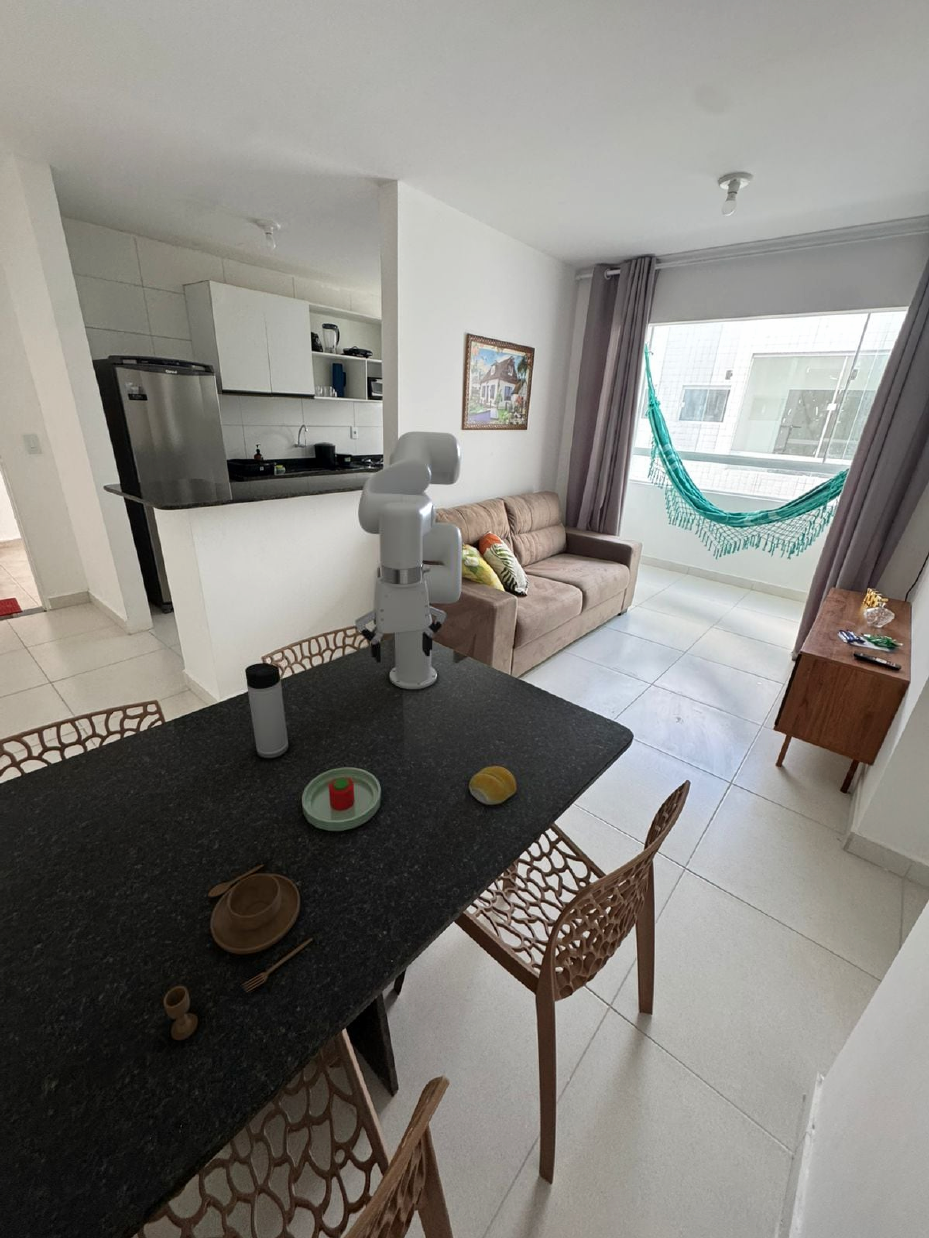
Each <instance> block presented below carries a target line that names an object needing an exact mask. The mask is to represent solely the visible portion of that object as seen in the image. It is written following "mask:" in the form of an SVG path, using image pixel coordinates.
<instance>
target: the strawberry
mask: <svg viewBox="0 0 929 1238" xmlns="http://www.w3.org/2000/svg"><path fill="white" fill-rule="evenodd" d="M329 797H330V806H331V807H332V808H333V809H334V810H337V811H343V810H347V809H349V808H350V807H352V805H353V804H354V801H355V800H354V783H353V781H352V780H351V779H350V778H348V777H338V778H336V779H334V780H332V781H331V782H330V784H329Z"/></svg>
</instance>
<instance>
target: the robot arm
mask: <svg viewBox="0 0 929 1238" xmlns="http://www.w3.org/2000/svg"><path fill="white" fill-rule="evenodd" d="M461 460H462V452H461V446H460V443H459V440H458V439H457V437H456V436H455V435H453V434H451V433H449V432H436V431H408V432H405V433H403V434H402V435H400V436H399V438H397V440H396V443H395V446H394V450H393V451H392V452H391V453H390V456H389V462H388V466H385V467H384V468H382V469H380V470H378V471H377V472H375V473H373V474H372V475H370V476H369V477H368V478H367V479H366V481H365V483H364V485H363V487H362V491H361V494H360V499H359V503H358V509H357V510H358V511H357V518H358V522H359V526H360V527H361V529H362V530H363V531H364V532H366V533H368V534H371V535H379V563H380V564H379V566H380V567H379V569H380V576H379V577H377V578H375V579H376V580H375V584H374V588H373V589H374V591H373V601H372V603H373V604H372V610H371V611H369V612H367V613H365V614H363V615H362V616H360V617H359V618H356V619H355V620H354V624H355V626H356V628H357V629H358V632H360V634H361V635H362V637H364V638H365V639H366V640H367V641H369V642H370V655H371V657H372V658H374V659H375V661H376V663H377V664H379V663H381V662H382V654H381V653H382V652H381V650H382V649H381V643H380V640H381V639H382V638H383V636H385V635H393V634H394V659H395V660H394V661H395V662H394V664H395V665H394V667H393V668H392V669H391V670H390V672H389V680H390V682H391V683H392V684H393V685H395V686H396V687H398V688H402V689H404V690H405V689H406V690H421V689H425V688H428V687H429V686H431V685H433V684H434V683H435V682H436V681H437V677H438V673H437V671H436V669H435V668H434V667H433V666H432V651H433V639H434V637H435V636H436V634H437V632H438V631H439V630H441V628H442V626H443V623H444V622H445V620H446V618H447V614H446V612H445V611H444V610H441V609H439V608H437V607H435V606H432V605H430V604H442V605H443V604H444V605H445V604H446V605H447V604H456V603H457V602H458V601H459V599H460V597H461V593H462V580H463V577H462V575H463V574H462V573H463V571H462V570H463V537H462V532H461V530H460V528H459V527H458V526H457V525H456V524H453V523H449V522H436V519H437V509H436V506H435V504H434V502H433V501H432V500H431V498H430V496H429V495H428V494H427V492H425V491H426V490H427V489H428V488H429V486H430V485H443V486H444V485H445V486H451V485H454V484H455V483H457V481H458V480H459V478H460V474H461ZM423 561H425V562H427V561H430V562H440V563H442V564H428V563H427V564H426V563H423ZM443 564H444V565H443ZM432 616H434V617H435V620H434V621H433V618H432ZM372 621H373V625H374V627H373V628H372V629H371V630H370V629H368V628H367V627H366V625H368V624H369V623H370V622H372Z"/></svg>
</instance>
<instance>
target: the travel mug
mask: <svg viewBox="0 0 929 1238" xmlns="http://www.w3.org/2000/svg"><path fill="white" fill-rule="evenodd" d="M244 673H245V680H246V687H247V694H248V695H247V696H248V700H249V701H248V702H249V707H250V715H251V722H252V727H253V734H254V740H255V746H256V747H255V748H256V753H257V754H258V756H260V757H262V758H265V759H272V758H277V757H280V756H282V755H283V754H285V753H286V752H287V750H288V749H289V738H288V731H287V723H286V722H287V721H286V714H285V713H286V712H285V705H284V698H283V697H284V696H283V688H282V681H281V675H280V674H281V673H280V667H279V666H278V665H275V664H270V663H268V662H258V663H254V664H250V665H248V666H247V667H246V668H245V670H244Z"/></svg>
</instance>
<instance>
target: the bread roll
mask: <svg viewBox="0 0 929 1238" xmlns="http://www.w3.org/2000/svg"><path fill="white" fill-rule="evenodd" d="M468 789H469V792H470V794H471V796H472V797H474V798H475V799H476V800H477V801H479V802H480V803H482V804H484V805H489V806H491V805H499V804H502V803H503V802H506V800H507V799H508V798H510V797H512V796H513V795H514V794H515V793H516V792H517V782H516V779H515V776H514V774H512V772H510V770H508V769H506V768H505V767H504V766H498V765H494V766H487V767H484V768H482V769H481V770H479V771H478V772H477V773H476V774H474V775H473V776H472V777H471V778H470V781H469V784H468Z"/></svg>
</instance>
